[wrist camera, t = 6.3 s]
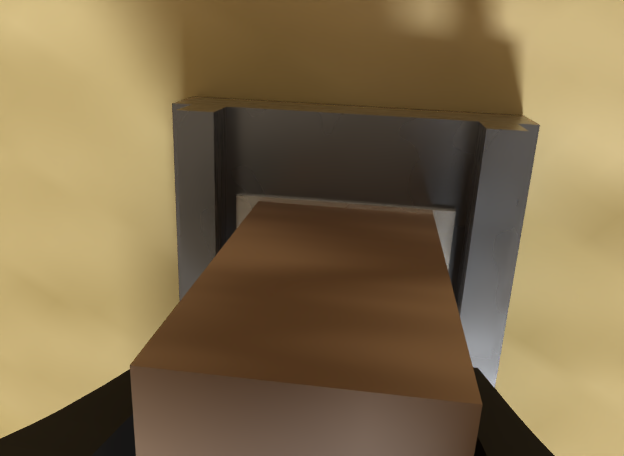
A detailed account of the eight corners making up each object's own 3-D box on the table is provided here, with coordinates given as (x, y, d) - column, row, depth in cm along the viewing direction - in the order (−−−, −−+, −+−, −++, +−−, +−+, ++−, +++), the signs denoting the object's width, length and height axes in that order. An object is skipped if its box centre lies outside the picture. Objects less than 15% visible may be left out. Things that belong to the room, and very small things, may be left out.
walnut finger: (433, 214, 13) (482, 403, 6) (408, 422, 15) (426, 741, 8) (258, 201, 13) (129, 365, 7) (255, 404, 15) (152, 693, 8)
